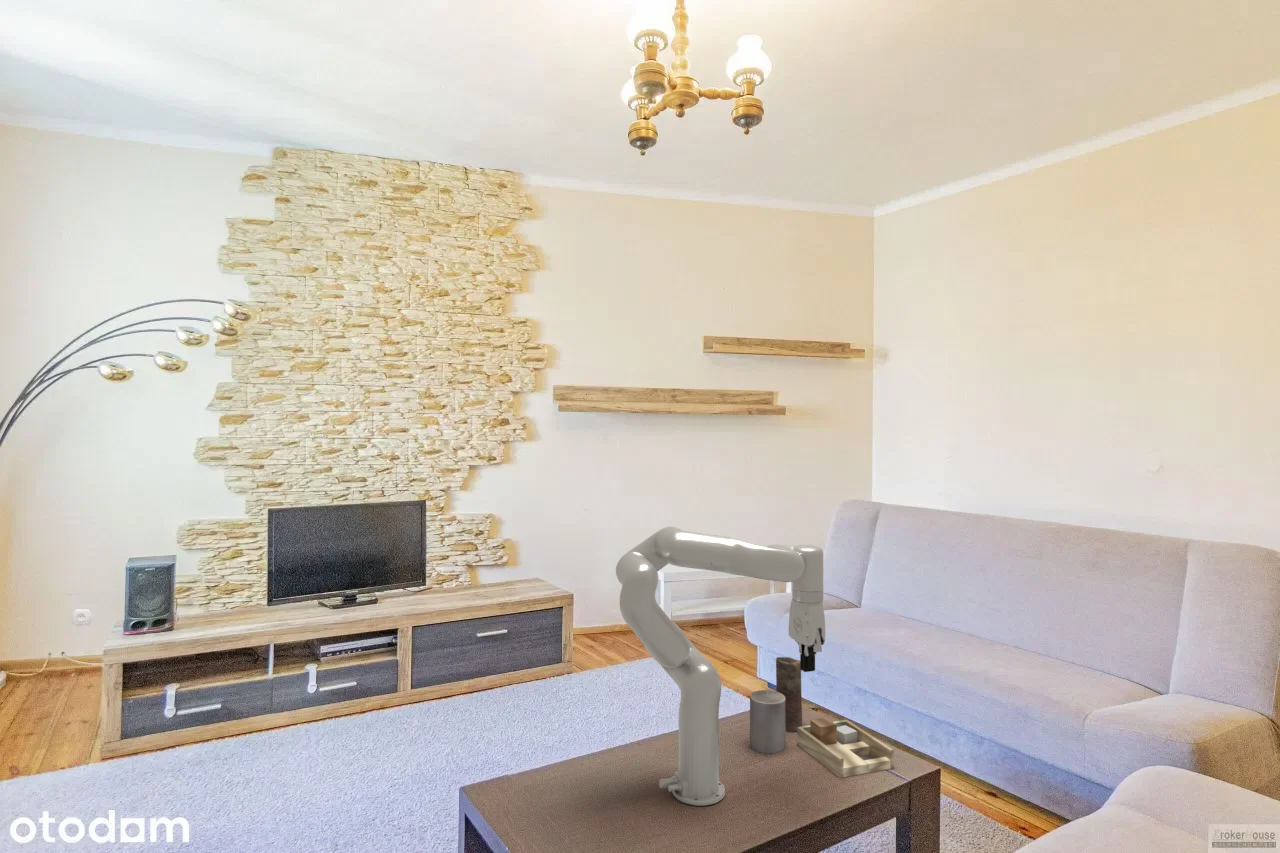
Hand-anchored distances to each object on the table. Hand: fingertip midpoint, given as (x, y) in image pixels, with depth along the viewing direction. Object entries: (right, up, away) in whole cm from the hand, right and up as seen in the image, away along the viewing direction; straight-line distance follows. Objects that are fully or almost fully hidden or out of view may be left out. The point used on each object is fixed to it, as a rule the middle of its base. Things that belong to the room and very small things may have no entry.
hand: (807, 670), depth 175 cm
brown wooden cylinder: (+2, -28, +31) cm, 42 cm away
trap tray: (+13, -27, +13) cm, 32 cm away
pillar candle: (-6, -28, +19) cm, 34 cm away
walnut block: (+8, -25, +17) cm, 31 cm away
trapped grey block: (+15, -27, +18) cm, 36 cm away
